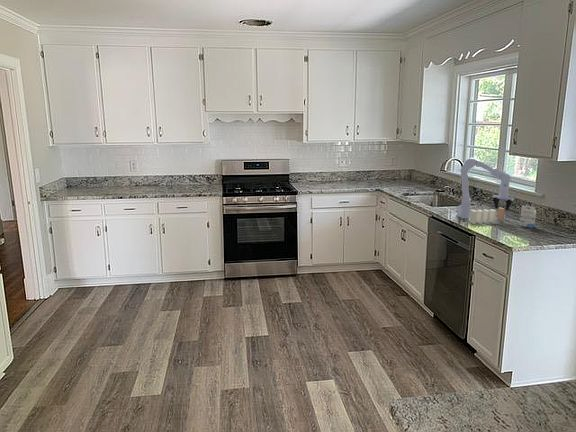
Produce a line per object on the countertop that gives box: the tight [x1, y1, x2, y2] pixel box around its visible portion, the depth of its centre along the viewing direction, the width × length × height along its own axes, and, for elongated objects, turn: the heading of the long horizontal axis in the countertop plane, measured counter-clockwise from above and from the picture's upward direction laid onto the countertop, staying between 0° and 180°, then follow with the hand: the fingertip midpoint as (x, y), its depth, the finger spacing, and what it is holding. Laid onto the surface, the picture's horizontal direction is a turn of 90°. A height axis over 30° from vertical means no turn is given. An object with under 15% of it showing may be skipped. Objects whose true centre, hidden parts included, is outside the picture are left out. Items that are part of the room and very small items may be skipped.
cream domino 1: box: [469, 209, 477, 225], centre depth 296 cm, size 5×2×9 cm, turn 10°
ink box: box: [518, 205, 537, 229], centre depth 290 cm, size 8×5×15 cm, turn 47°
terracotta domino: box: [496, 206, 506, 221], centre depth 305 cm, size 5×2×9 cm, turn 10°
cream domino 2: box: [476, 209, 484, 225], centre depth 297 cm, size 5×2×9 cm, turn 10°
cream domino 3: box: [482, 208, 490, 225], centre depth 298 cm, size 5×2×9 cm, turn 10°
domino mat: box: [464, 218, 510, 226], centre depth 301 cm, size 12×29×1 cm, turn 99°
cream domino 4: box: [489, 208, 498, 223], centre depth 299 cm, size 5×2×9 cm, turn 10°
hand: (501, 209), depth 304 cm, fingers open, 7 cm apart
